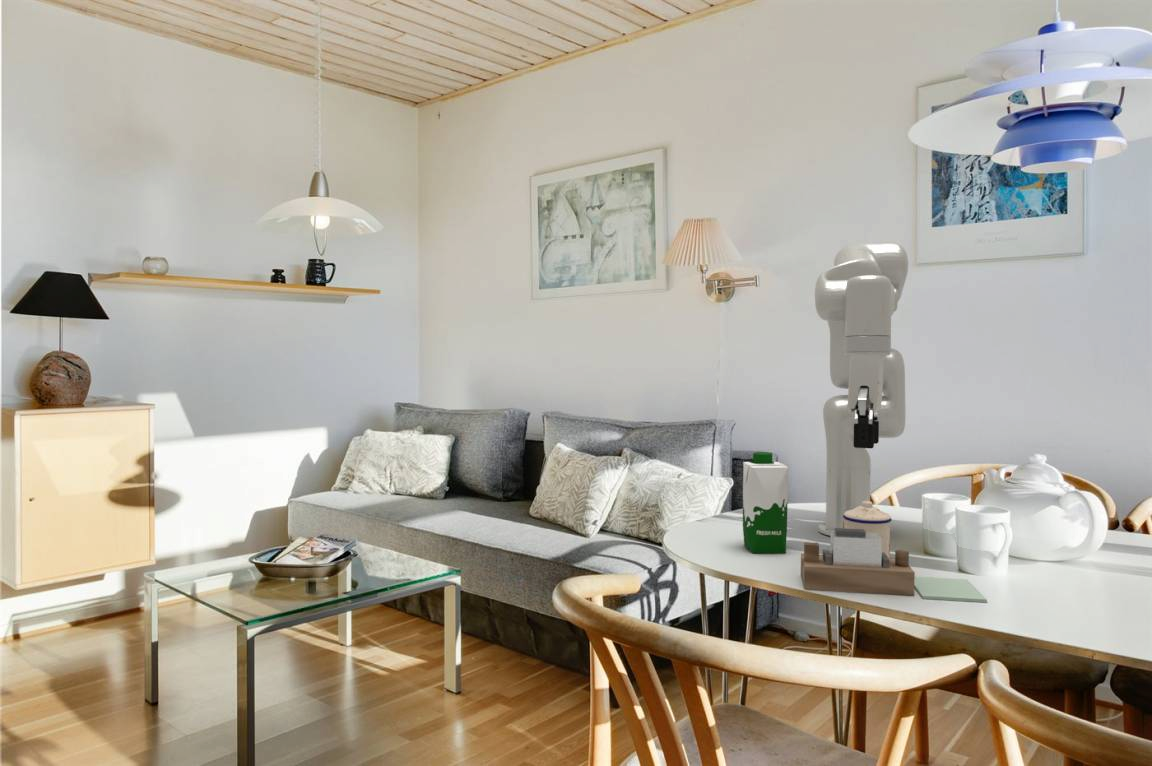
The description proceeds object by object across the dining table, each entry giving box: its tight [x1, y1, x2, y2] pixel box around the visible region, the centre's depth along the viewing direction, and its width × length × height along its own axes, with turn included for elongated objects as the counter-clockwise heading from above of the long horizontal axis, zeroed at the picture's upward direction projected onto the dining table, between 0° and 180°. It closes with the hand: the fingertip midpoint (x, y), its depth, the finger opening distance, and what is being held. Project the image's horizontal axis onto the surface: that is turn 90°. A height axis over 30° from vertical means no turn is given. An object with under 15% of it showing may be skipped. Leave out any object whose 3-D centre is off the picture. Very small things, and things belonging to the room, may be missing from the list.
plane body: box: [800, 541, 915, 597], centre depth 141 cm, size 9×18×7 cm, turn 78°
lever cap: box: [829, 528, 882, 568], centre depth 141 cm, size 5×8×6 cm, turn 78°
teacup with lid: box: [842, 500, 893, 558], centre depth 160 cm, size 12×9×12 cm
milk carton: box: [742, 451, 789, 554], centre depth 166 cm, size 9×9×20 cm
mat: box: [914, 575, 988, 603], centre depth 138 cm, size 12×10×1 cm
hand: (866, 445), depth 138 cm, fingers open, 9 cm apart
